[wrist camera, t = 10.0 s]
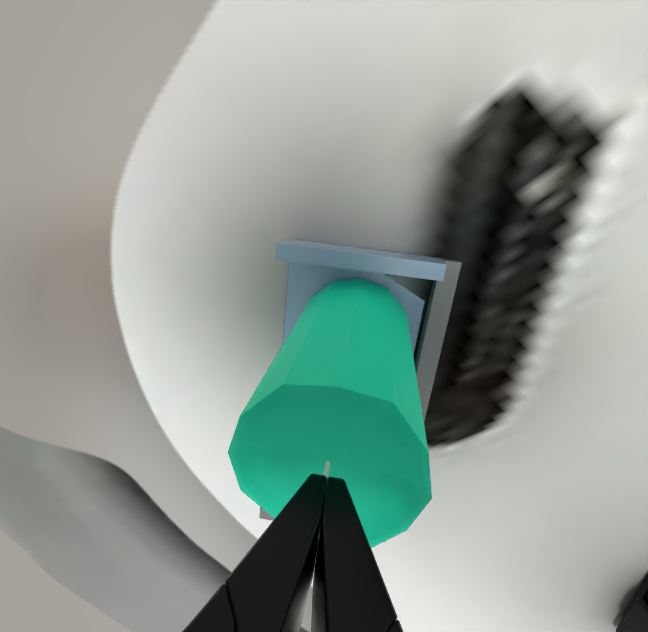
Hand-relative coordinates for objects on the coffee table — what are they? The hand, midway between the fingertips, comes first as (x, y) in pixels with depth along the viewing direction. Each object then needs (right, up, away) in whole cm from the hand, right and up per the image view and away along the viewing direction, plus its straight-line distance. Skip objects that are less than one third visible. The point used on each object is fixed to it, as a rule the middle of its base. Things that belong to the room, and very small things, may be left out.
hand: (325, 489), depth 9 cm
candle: (+2, +4, +11) cm, 12 cm away
